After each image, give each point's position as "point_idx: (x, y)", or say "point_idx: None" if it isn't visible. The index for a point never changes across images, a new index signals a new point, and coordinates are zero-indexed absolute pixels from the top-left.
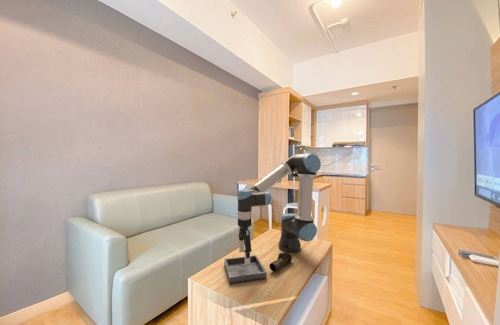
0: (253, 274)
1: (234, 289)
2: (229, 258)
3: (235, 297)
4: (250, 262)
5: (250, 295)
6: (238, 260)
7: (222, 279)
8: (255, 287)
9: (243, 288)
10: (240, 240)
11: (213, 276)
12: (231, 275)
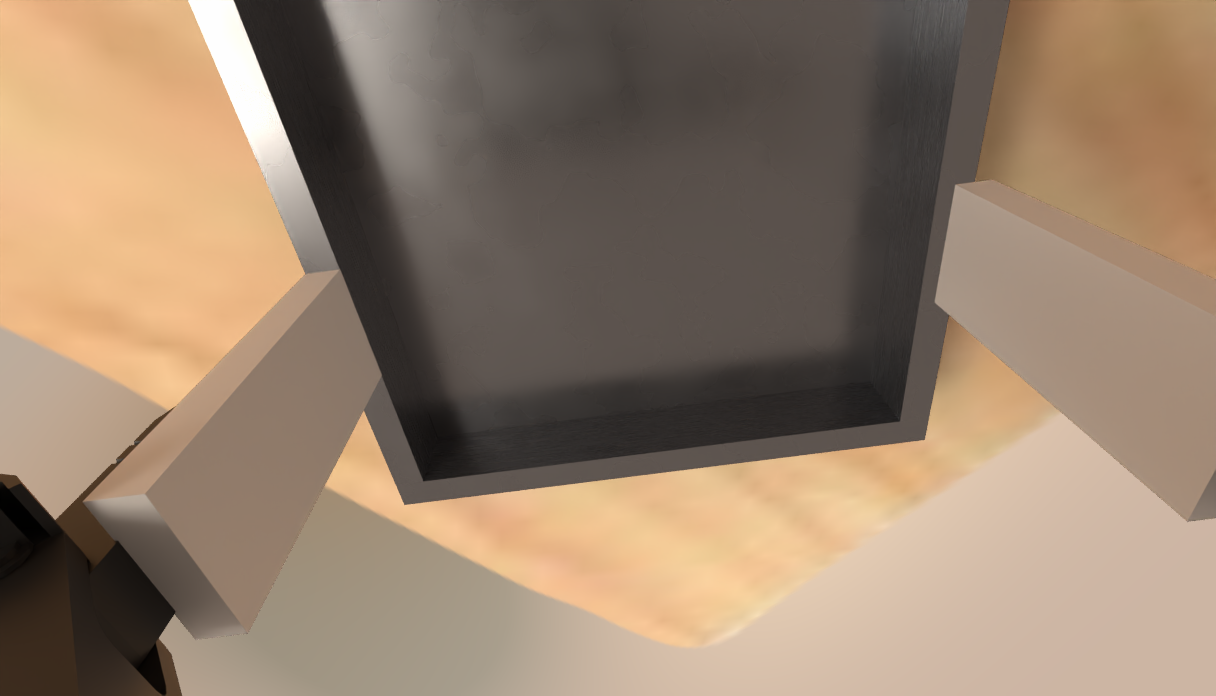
0: (992, 74)
1: None
2: (381, 444)
3: None
4: (359, 40)
5: (1204, 154)
6: (369, 289)
7: None
8: (1088, 52)
9: None
10: (170, 609)
11: (674, 528)
12: (744, 378)
